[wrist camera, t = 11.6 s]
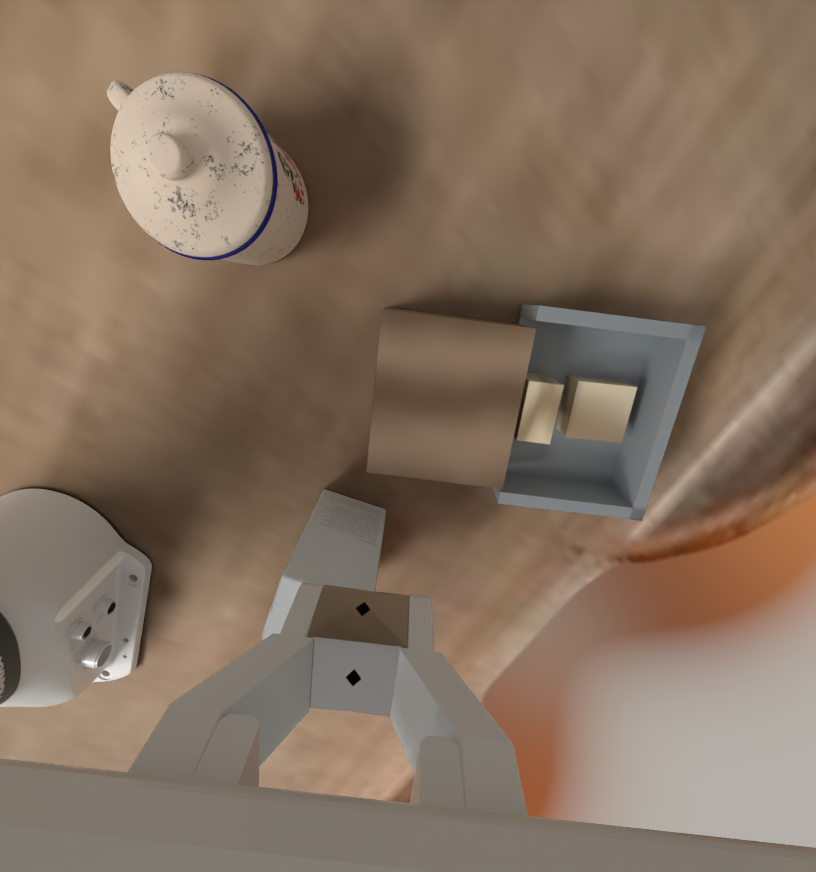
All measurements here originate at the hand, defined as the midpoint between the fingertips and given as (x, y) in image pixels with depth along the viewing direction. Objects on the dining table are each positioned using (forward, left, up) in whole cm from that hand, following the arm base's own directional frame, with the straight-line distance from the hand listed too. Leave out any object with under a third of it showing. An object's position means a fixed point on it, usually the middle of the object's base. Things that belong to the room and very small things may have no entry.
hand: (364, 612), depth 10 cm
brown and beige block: (0, -3, -27) cm, 27 cm away
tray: (0, -14, -27) cm, 31 cm away
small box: (-15, +4, -27) cm, 31 cm away
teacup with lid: (+13, +14, -27) cm, 33 cm away
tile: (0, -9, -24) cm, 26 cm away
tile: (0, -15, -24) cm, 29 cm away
